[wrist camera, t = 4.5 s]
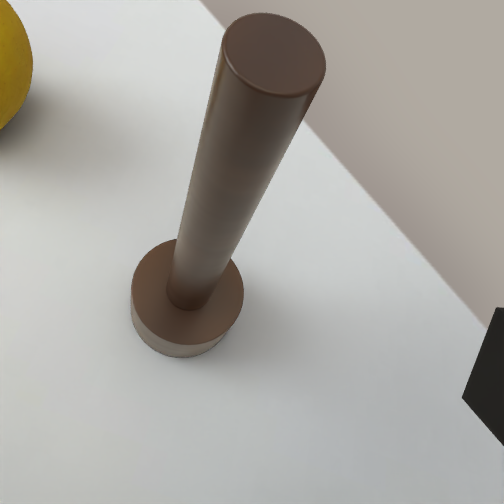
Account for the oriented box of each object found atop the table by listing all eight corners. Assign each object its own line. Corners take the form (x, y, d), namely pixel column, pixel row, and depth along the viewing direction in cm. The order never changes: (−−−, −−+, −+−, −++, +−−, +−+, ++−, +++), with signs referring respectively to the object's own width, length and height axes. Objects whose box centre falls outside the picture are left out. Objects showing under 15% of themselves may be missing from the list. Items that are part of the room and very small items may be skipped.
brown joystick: (244, 283, 25) (420, 23, 10) (210, 373, 23) (370, 215, 8) (156, 246, 25) (200, -82, 10) (112, 334, 23) (81, 89, 7)
